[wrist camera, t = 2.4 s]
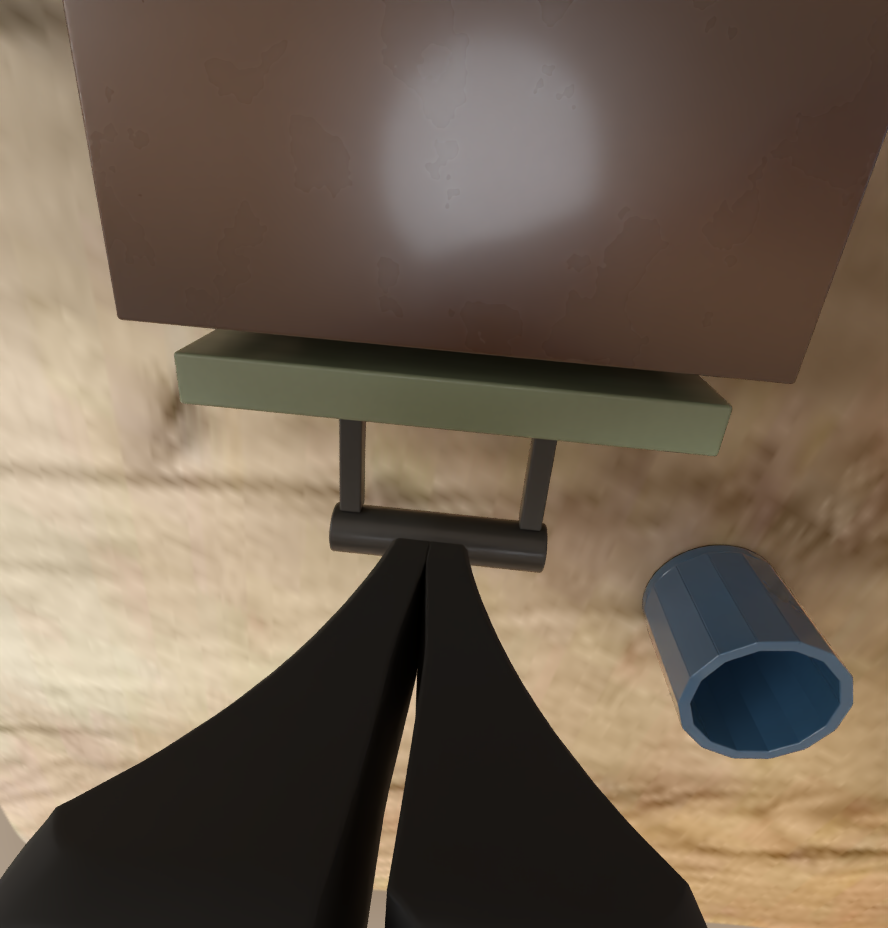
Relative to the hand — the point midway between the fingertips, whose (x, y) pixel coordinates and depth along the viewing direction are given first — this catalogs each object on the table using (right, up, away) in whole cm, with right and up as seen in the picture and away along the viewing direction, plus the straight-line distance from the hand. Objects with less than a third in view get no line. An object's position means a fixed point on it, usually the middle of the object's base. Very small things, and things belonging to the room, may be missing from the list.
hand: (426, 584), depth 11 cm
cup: (+11, -3, +12) cm, 17 cm away
